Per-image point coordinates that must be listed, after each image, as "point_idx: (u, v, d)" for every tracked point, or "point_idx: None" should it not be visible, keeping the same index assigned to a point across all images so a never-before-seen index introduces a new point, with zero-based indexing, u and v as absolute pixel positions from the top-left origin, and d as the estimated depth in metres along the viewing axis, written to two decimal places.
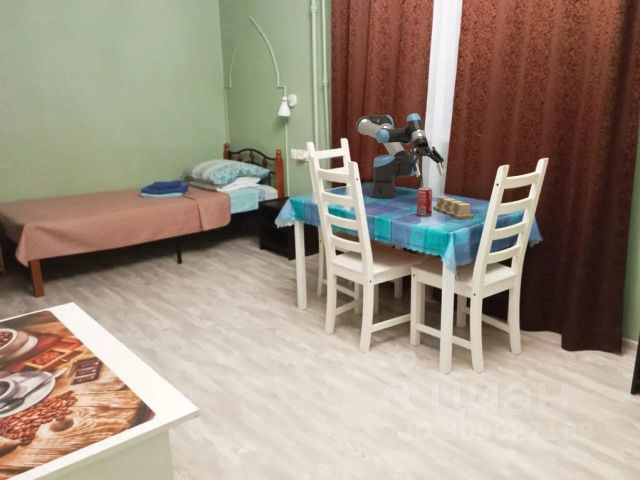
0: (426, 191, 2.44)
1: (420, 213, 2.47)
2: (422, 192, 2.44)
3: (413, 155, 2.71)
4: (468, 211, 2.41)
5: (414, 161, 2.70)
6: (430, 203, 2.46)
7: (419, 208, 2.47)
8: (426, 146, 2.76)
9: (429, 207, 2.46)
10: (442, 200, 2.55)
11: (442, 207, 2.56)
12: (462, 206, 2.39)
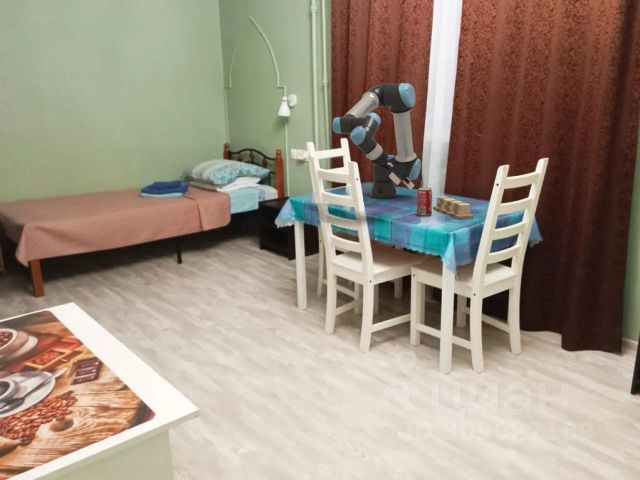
0: (426, 191, 2.44)
1: (420, 213, 2.47)
2: (422, 192, 2.44)
3: (381, 168, 2.45)
4: (468, 211, 2.41)
5: (386, 173, 2.47)
6: (430, 203, 2.46)
7: (419, 208, 2.47)
8: (383, 163, 2.34)
9: (429, 207, 2.46)
10: (442, 200, 2.55)
11: (442, 207, 2.56)
12: (462, 206, 2.39)
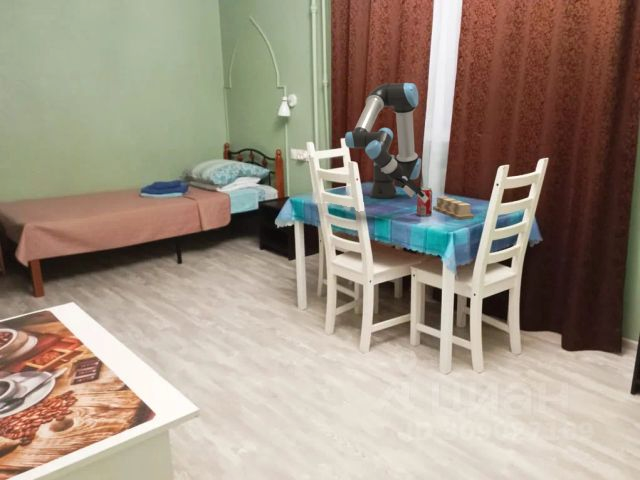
0: (426, 191, 2.44)
1: (420, 213, 2.47)
2: None
3: (396, 181, 2.48)
4: (468, 211, 2.41)
5: (400, 186, 2.50)
6: (430, 203, 2.46)
7: (419, 208, 2.47)
8: (398, 177, 2.38)
9: (429, 207, 2.46)
10: (442, 200, 2.55)
11: (442, 207, 2.56)
12: (462, 206, 2.39)
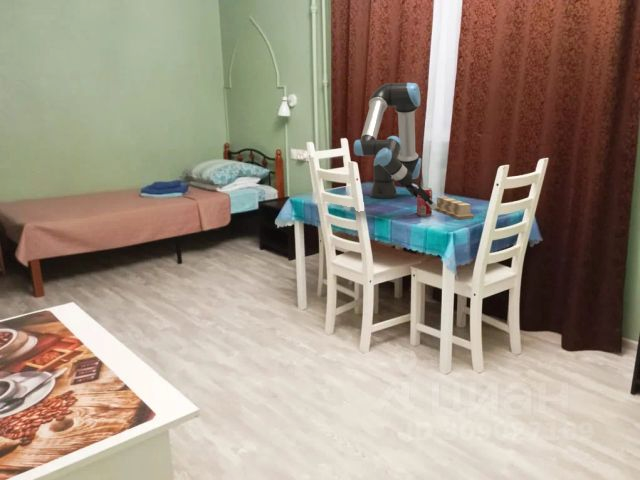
0: (426, 191, 2.44)
1: (420, 213, 2.47)
2: None
3: (408, 190, 2.50)
4: (468, 211, 2.41)
5: (414, 195, 2.52)
6: None
7: (419, 208, 2.47)
8: (408, 183, 2.40)
9: (429, 207, 2.46)
10: (442, 200, 2.55)
11: (442, 207, 2.56)
12: (462, 206, 2.39)
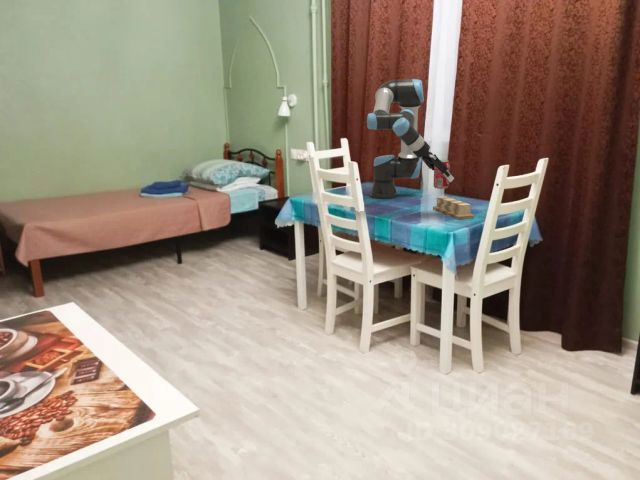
0: (443, 163, 2.40)
1: (437, 185, 2.44)
2: None
3: (425, 162, 2.47)
4: (468, 211, 2.41)
5: (431, 168, 2.48)
6: None
7: (436, 180, 2.43)
8: (425, 154, 2.37)
9: (446, 179, 2.42)
10: (442, 200, 2.55)
11: (442, 207, 2.56)
12: (462, 206, 2.39)
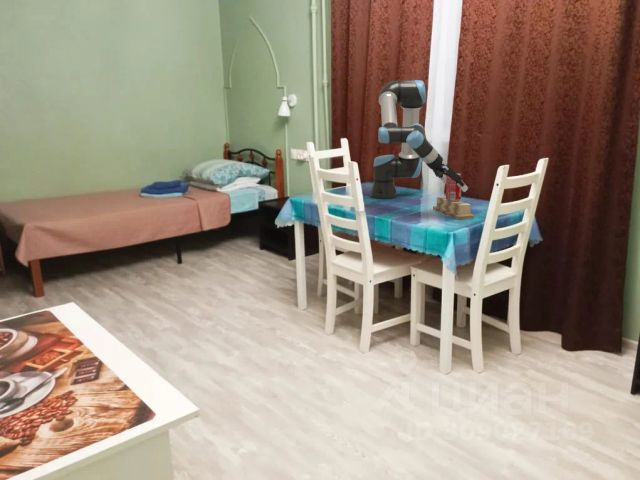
0: None
1: (449, 199, 2.47)
2: None
3: (434, 171, 2.51)
4: (468, 211, 2.41)
5: (438, 176, 2.53)
6: (459, 188, 2.45)
7: (448, 194, 2.47)
8: (438, 167, 2.40)
9: (458, 192, 2.46)
10: (442, 200, 2.55)
11: (442, 207, 2.56)
12: (462, 206, 2.39)
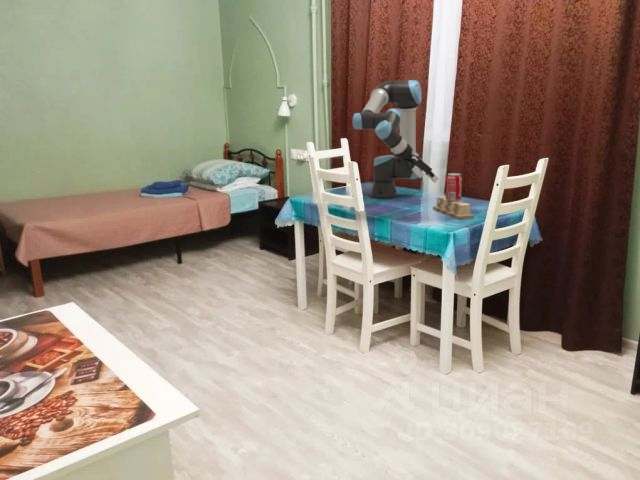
0: (456, 176, 2.44)
1: (449, 199, 2.47)
2: (452, 177, 2.44)
3: (405, 162, 2.47)
4: (468, 211, 2.41)
5: (409, 167, 2.49)
6: (459, 188, 2.45)
7: (448, 194, 2.47)
8: (408, 157, 2.36)
9: (458, 192, 2.46)
10: (442, 200, 2.55)
11: (442, 207, 2.56)
12: (462, 206, 2.39)
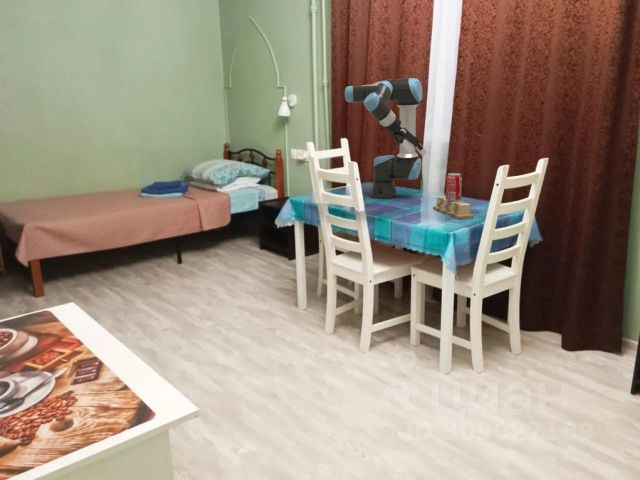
0: (456, 176, 2.44)
1: (449, 199, 2.47)
2: (452, 177, 2.44)
3: (394, 136, 2.48)
4: (468, 211, 2.41)
5: (398, 141, 2.50)
6: (459, 188, 2.45)
7: (448, 194, 2.47)
8: (396, 130, 2.38)
9: (458, 192, 2.46)
10: (442, 200, 2.55)
11: (442, 207, 2.56)
12: (462, 206, 2.39)
